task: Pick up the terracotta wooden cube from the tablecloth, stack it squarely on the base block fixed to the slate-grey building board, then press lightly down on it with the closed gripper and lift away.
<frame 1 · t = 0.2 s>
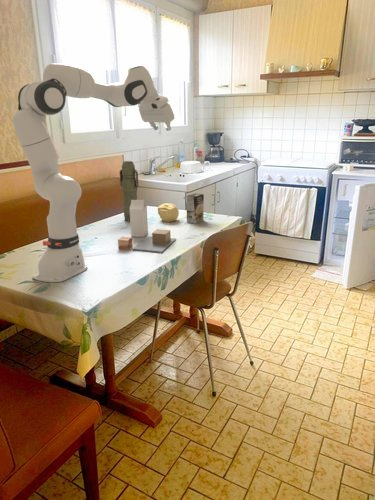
hand: (162, 129, 178), 54 cm above the table, tool tilted 30°, fingers open, 8 cm apart
top block: (125, 248, 182), on the table
sculpture: (169, 220, 229), on the table
building board: (155, 244, 186), on the table
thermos: (131, 219, 232), on the table
milk carton: (139, 235, 201), on the table
coffee box: (195, 221, 226), on the table
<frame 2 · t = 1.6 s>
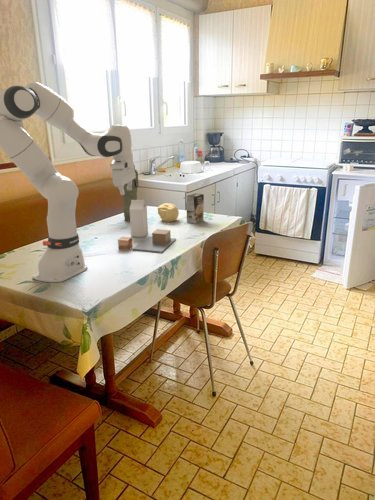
hand: (126, 192, 175), 27 cm above the table, tool pointing down, fingers open, 8 cm apart
nothing on the table moved.
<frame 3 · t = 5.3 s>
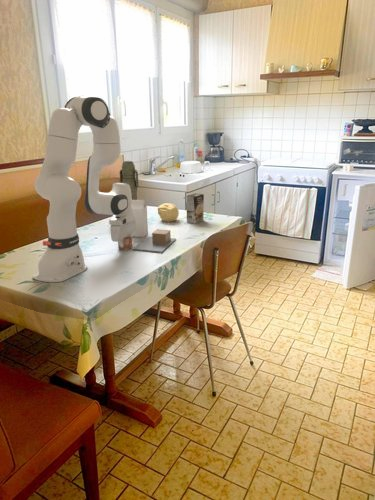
hand: (125, 244, 181), 2 cm above the table, tool pointing down, fingers closed on top block, 5 cm apart
top block: (125, 248, 182), on the table, touching gripper
everything else where it was.
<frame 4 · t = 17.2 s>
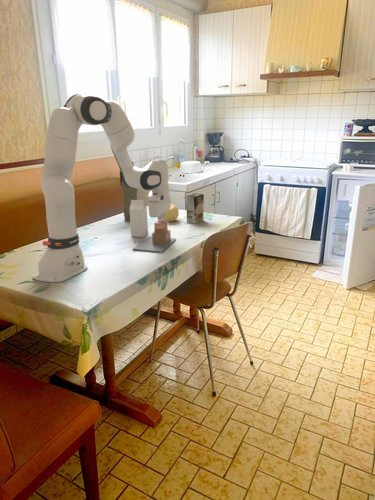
hand: (161, 221, 185), 11 cm above the table, tool pointing down, fingers closed, pressing on top block
top block: (161, 231, 187), point 6 cm above the table, touching building board, gripper
everything else where it was.
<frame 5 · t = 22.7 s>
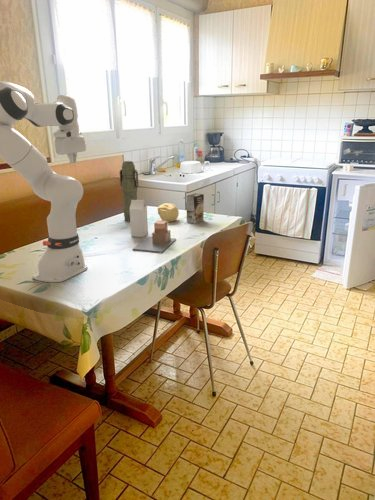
hand: (73, 162, 182), 39 cm above the table, tool pointing down, fingers closed
top block: (161, 231, 187), point 6 cm above the table, touching building board
everything else where it was.
at the end: top block 0.1 cm from the target spot on the building board, point 5.8 cm above the building board's base; top block tilted 0°; the gripper is holding nothing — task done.
